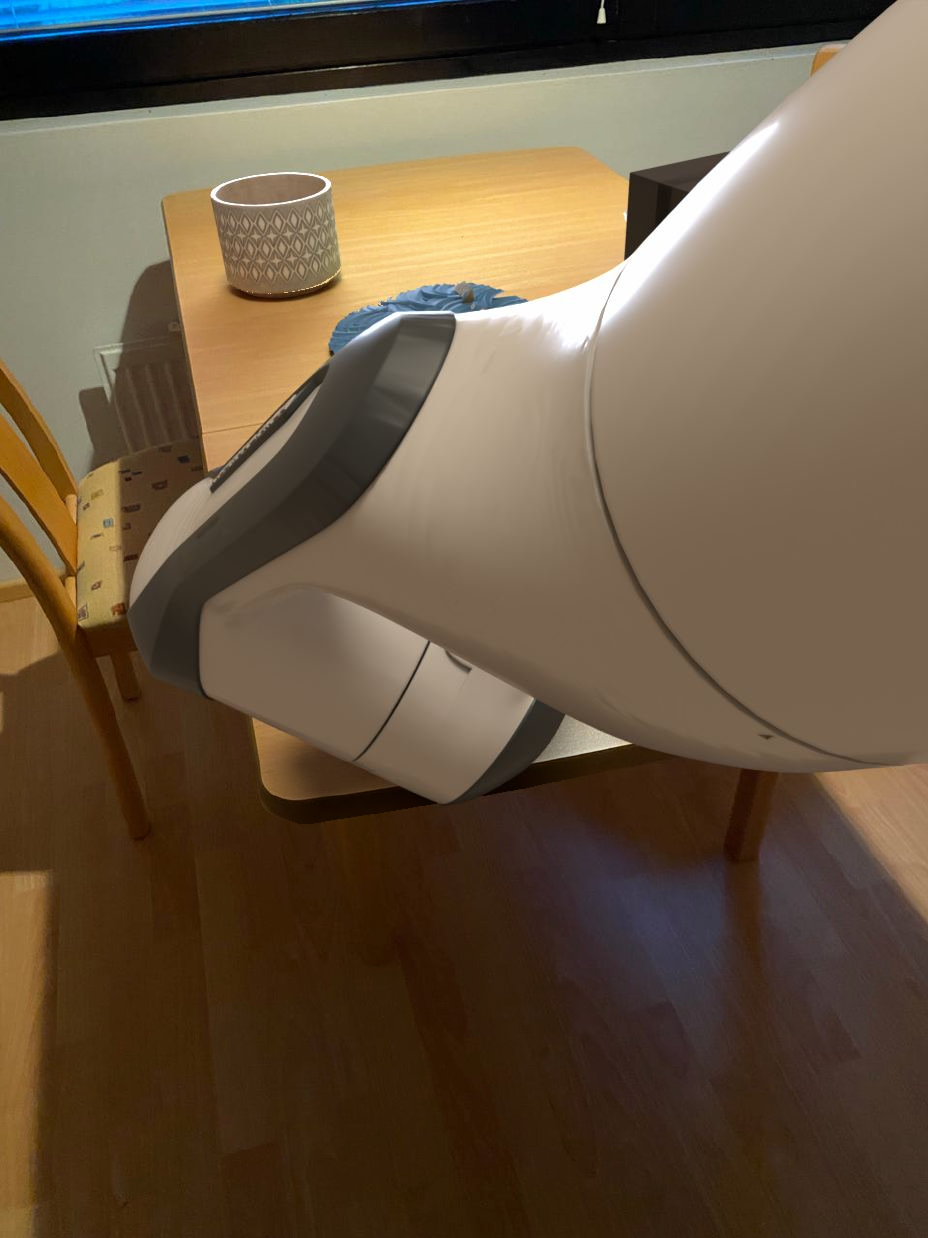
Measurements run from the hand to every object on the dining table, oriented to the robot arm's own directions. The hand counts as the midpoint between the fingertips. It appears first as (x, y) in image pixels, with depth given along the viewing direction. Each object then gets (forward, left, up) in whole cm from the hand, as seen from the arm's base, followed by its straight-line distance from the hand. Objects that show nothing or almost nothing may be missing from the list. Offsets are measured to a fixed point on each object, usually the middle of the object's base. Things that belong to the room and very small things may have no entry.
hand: (388, 597), depth 64 cm
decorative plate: (+51, -33, -8) cm, 62 cm away
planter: (+85, -24, -8) cm, 88 cm away
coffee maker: (+15, -45, -8) cm, 48 cm away
